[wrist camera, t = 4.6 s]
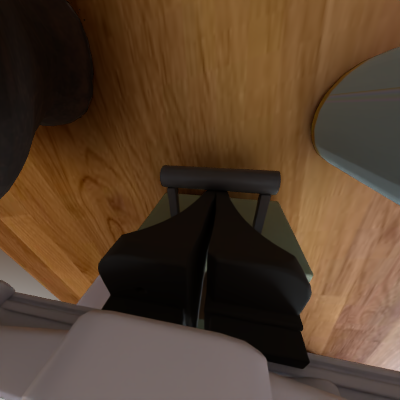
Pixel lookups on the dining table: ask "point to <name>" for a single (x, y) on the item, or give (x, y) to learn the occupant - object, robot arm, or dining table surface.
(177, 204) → the drawer
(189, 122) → the dining table surface
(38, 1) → the jug
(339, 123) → the bottle
